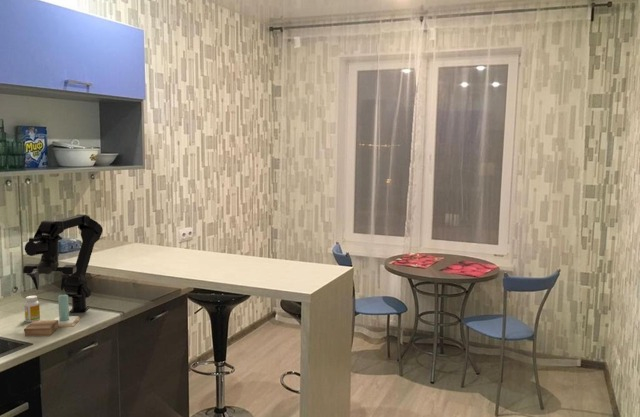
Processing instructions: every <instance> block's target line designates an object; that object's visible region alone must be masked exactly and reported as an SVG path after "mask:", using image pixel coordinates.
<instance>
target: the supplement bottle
mask: <svg viewBox="0 0 640 417" xmlns="http://www.w3.org/2000/svg"><path fill="white" fill-rule="evenodd" d="M23 307H24V320H25V322H28V323H29V322H31V323H32V322H33V321H40V319H41V313H40V312H41V310H40V301H38V296H37V295H29V296H26V297H25V302H24V306H23Z"/></svg>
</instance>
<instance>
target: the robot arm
mask: <svg viewBox="0 0 640 417" xmlns="http://www.w3.org/2000/svg"><path fill="white" fill-rule="evenodd" d="M75 227H77V229H79V230H80V237H81V241H82V242H81V245H80V249H79V252H78V254H77V255H78V256H77V259H76V262H75V264H65V265H64V266H60V263H59V256H60V253H59V241H63V237H62V236H61V235H60V234H62V233H64V231H65V230H68V229H71V228H75ZM103 229H104V228H103V226H102V225H101V224H100V223H99V222H97V221H96V220H94V219H93V218H91V217H90V216H89V215H87V214H80V213H78V214H75V215H73V216H70V217H69V216H68V217H66V218H62V219H58V220H54V219H53V220H43V221H40V223H39V226H38V228H37V230H36V231H35V233H34V236H33V237H29V238H28V241H27V242H26V244H25V246H24V251H25V253H26V255H27V256H29V257H33V256H38V255H41V258H40V261H39V262H38V263H27V264H25V265H24V266H23V267H22V274H26V276H29V277H30V278H31V279H32V282H33V284H34V286H35V289H36V290H37V291H38V290H39V288H40V275H41V274H42V275H43V274H44V275H45V274H46V275H49V274H50V275H51V273H52V272H61V273H62V274H61V284H60V291H64V293H65V295H68V298H71V309H69V313H85V312H87V310H89V308H90V306H87V298H89V297H90V296H92V290H91V288H89V287H88V285H87V284H88V281H87V277H86V275H87V274H86V273H87V270H88V267H89V263H90V260H91V257H92V255H93V254H92V253H93V249H94V246H95V244H96V243H97V242H98V241H99V240H100V239H101V236H102V234H103Z"/></svg>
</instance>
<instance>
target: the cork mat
mask: <svg viewBox="0 0 640 417" xmlns="http://www.w3.org/2000/svg"><path fill="white" fill-rule="evenodd" d="M80 320H82V317H80V316H79V318H78V319H77V320H76V321H75V322H74V324H73V325H58V328H64V327H65V328H70V327H74V326H76V324H77V323H78V322H79V321H80Z"/></svg>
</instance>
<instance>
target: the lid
mask: <svg viewBox="0 0 640 417" xmlns="http://www.w3.org/2000/svg"><path fill="white" fill-rule="evenodd" d="M57 299H58V301H57V302H58V316H56V317H55V318H54V319H53V320H58V325H73V324H74V322H75V321H76V320H77V319H78V318H79V317H80V316H79V315H74V316H73V315H70V312H69V311H70V306H69V297H68V295H66V294H60V295H58V296H57Z"/></svg>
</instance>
